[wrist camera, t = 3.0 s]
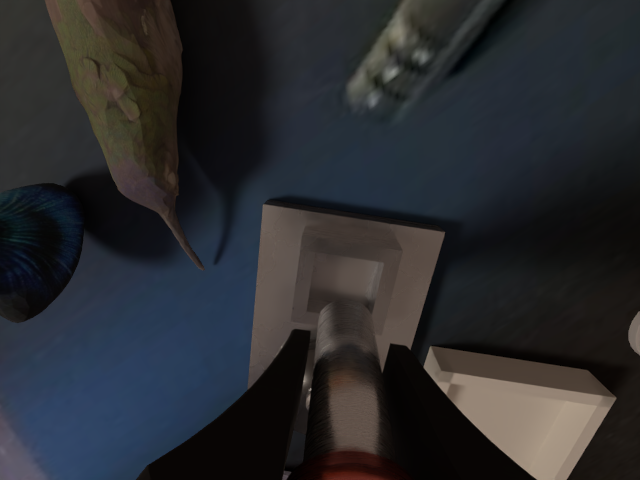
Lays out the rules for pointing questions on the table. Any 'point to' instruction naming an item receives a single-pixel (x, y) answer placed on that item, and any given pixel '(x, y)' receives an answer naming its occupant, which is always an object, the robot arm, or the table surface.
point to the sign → (635, 334)
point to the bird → (129, 92)
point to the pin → (348, 403)
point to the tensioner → (337, 279)
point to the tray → (524, 406)
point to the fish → (37, 247)
